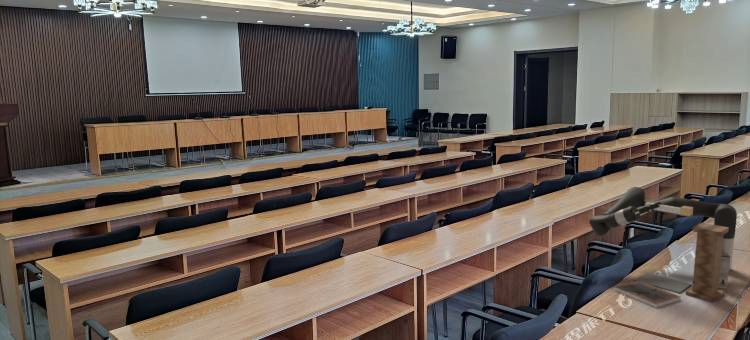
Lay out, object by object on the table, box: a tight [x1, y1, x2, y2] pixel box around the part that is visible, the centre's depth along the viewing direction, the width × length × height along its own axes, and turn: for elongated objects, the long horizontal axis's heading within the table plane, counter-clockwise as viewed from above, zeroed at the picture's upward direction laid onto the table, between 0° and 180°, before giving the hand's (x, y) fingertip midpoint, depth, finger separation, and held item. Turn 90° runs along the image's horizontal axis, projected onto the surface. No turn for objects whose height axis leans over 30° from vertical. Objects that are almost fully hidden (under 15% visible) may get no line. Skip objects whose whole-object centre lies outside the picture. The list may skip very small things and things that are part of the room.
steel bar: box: [645, 202, 693, 217], centre depth 254 cm, size 20×4×4 cm, turn 41°
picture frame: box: [614, 281, 682, 309], centre depth 248 cm, size 16×2×22 cm
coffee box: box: [718, 250, 730, 289], centre depth 256 cm, size 9×6×16 cm
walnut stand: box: [685, 222, 729, 303], centre depth 244 cm, size 12×12×32 cm
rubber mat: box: [633, 272, 693, 294], centre depth 261 cm, size 21×14×1 cm, turn 41°
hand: (659, 204), depth 256 cm, fingers closed on steel bar, 2 cm apart
